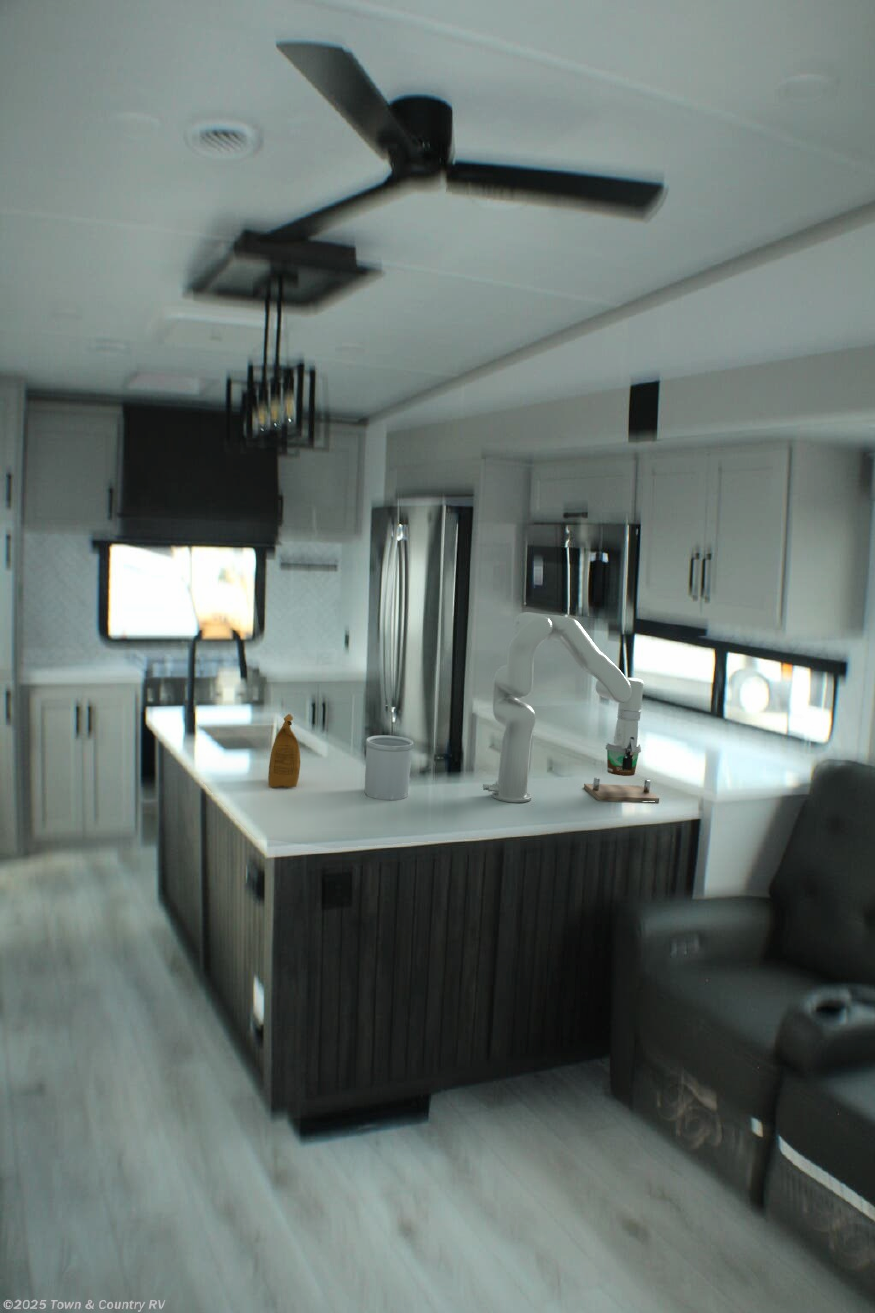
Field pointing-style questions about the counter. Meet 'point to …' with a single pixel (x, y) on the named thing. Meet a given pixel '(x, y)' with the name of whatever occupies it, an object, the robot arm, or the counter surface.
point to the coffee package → (284, 758)
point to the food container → (620, 760)
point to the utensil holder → (388, 767)
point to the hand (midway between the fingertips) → (623, 767)
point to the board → (621, 792)
